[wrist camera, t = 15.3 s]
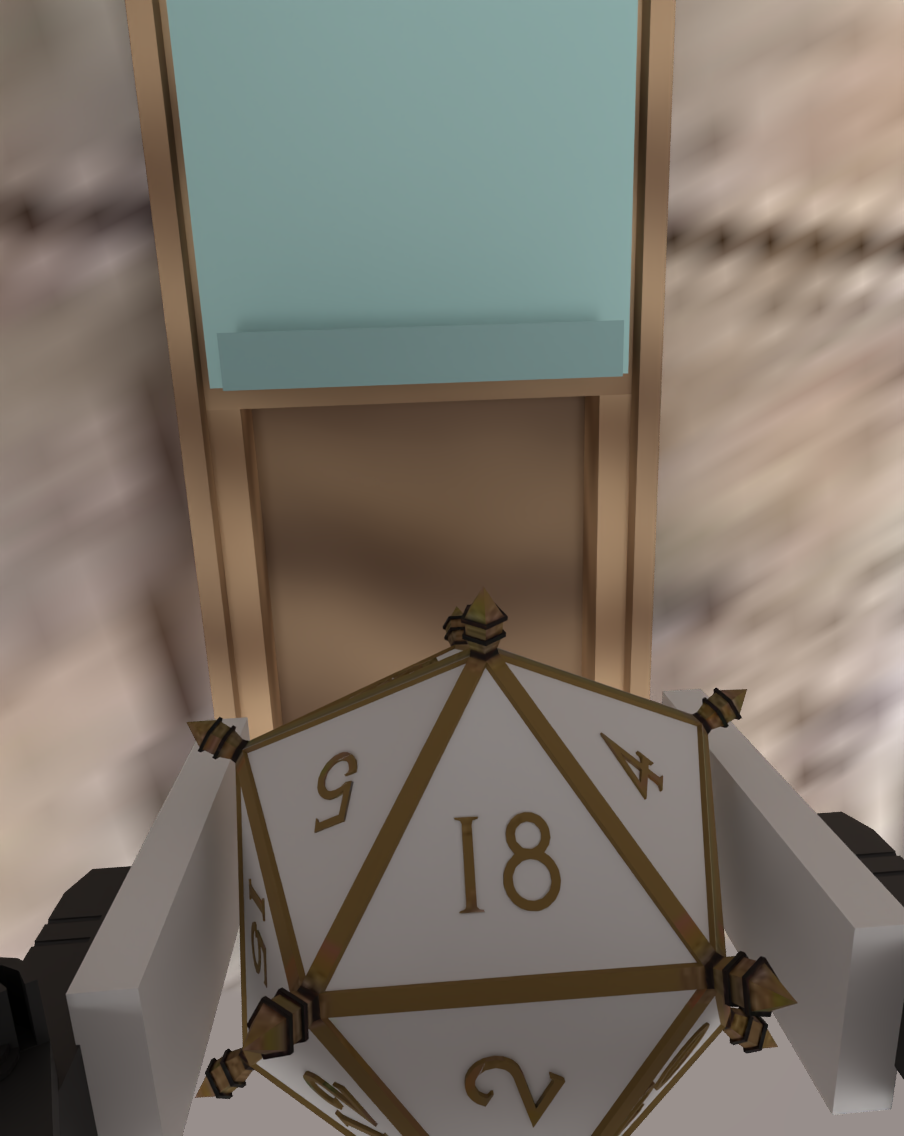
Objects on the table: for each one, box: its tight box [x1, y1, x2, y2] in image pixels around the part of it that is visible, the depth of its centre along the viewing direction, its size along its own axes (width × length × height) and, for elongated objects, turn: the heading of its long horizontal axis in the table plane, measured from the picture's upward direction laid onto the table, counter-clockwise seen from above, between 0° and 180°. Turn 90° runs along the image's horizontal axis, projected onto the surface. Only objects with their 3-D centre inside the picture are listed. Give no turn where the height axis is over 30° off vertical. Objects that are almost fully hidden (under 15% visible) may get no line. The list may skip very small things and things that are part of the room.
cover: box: [166, 0, 638, 391], centre depth 21 cm, size 14×13×3 cm
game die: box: [187, 586, 797, 1136], centre depth 12 cm, size 9×8×10 cm
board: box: [125, 0, 676, 740], centre depth 26 cm, size 30×15×3 cm, turn 2°
